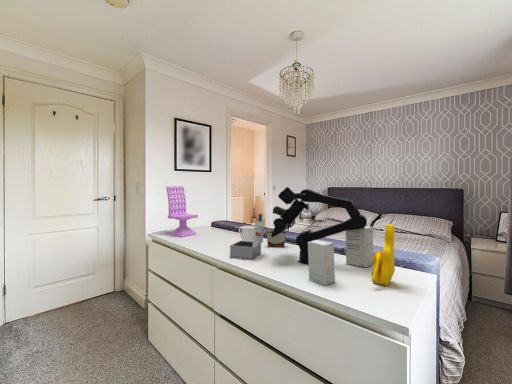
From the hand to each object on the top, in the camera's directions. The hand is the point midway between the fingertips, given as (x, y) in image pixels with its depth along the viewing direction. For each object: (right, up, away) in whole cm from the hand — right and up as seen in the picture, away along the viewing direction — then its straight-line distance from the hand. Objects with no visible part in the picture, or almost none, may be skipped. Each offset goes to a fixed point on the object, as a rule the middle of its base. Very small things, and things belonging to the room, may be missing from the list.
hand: (274, 234), depth 125 cm
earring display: (-63, -10, +59) cm, 87 cm away
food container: (+3, -11, +25) cm, 27 cm away
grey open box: (-14, -11, +5) cm, 19 cm away
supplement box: (+38, -12, -9) cm, 41 cm away
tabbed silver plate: (-8, +3, +2) cm, 9 cm away
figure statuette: (+38, -13, -31) cm, 50 cm away
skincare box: (+15, -13, -29) cm, 35 cm away
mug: (-15, -11, +32) cm, 37 cm away
